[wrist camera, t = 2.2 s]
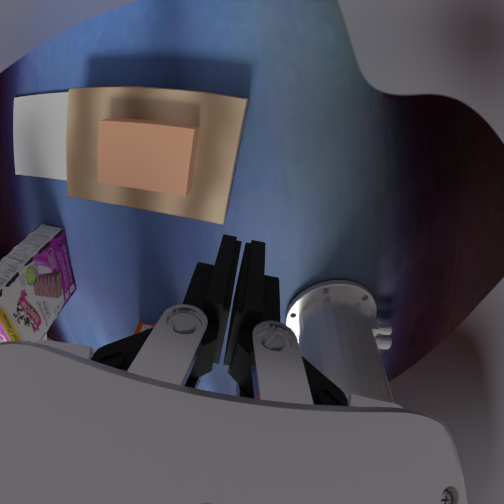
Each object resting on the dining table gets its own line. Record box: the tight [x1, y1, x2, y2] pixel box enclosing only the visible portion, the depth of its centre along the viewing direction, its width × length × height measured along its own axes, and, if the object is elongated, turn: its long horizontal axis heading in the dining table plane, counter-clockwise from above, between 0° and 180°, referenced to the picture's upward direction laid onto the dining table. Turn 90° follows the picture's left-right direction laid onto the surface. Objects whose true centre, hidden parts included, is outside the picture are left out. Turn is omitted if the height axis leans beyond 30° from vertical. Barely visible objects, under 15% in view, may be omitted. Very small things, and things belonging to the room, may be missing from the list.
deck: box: [66, 86, 249, 224], centre depth 26 cm, size 18×12×4 cm, turn 79°
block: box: [98, 118, 200, 197], centre depth 24 cm, size 9×6×2 cm, turn 79°
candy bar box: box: [0, 224, 76, 343], centre depth 29 cm, size 11×5×16 cm, turn 170°
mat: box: [13, 92, 69, 180], centre depth 26 cm, size 12×11×1 cm
